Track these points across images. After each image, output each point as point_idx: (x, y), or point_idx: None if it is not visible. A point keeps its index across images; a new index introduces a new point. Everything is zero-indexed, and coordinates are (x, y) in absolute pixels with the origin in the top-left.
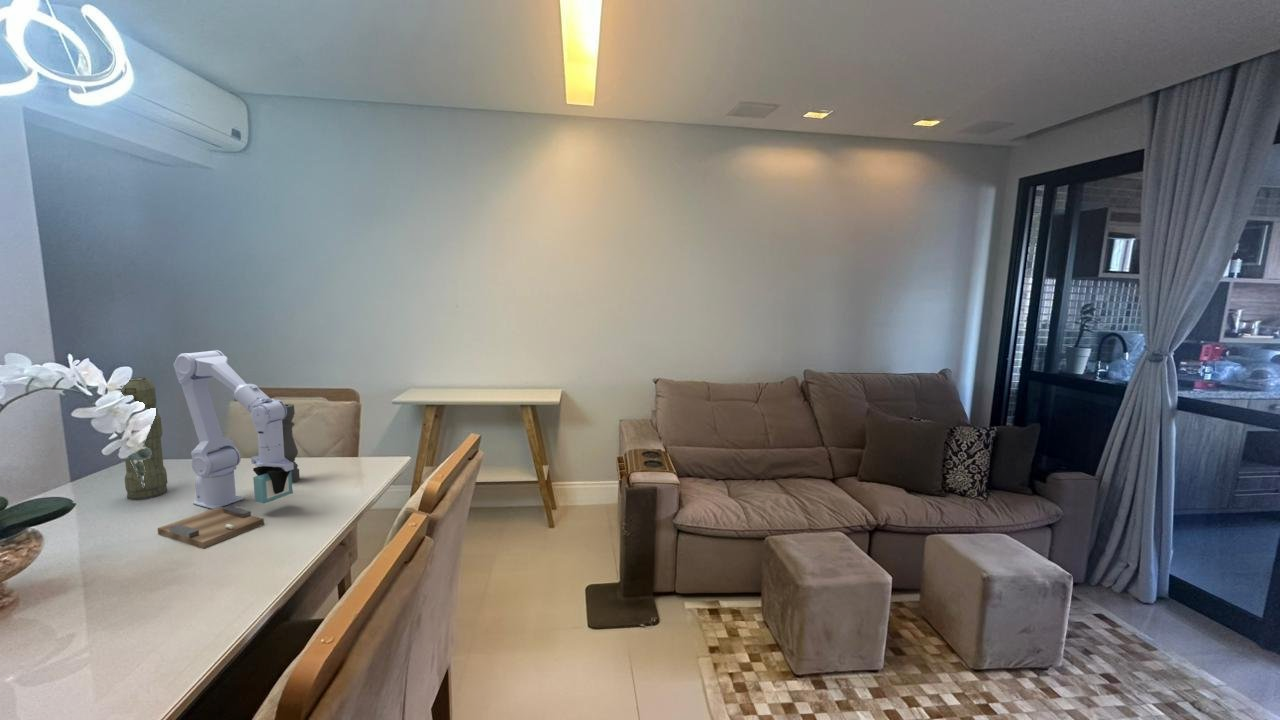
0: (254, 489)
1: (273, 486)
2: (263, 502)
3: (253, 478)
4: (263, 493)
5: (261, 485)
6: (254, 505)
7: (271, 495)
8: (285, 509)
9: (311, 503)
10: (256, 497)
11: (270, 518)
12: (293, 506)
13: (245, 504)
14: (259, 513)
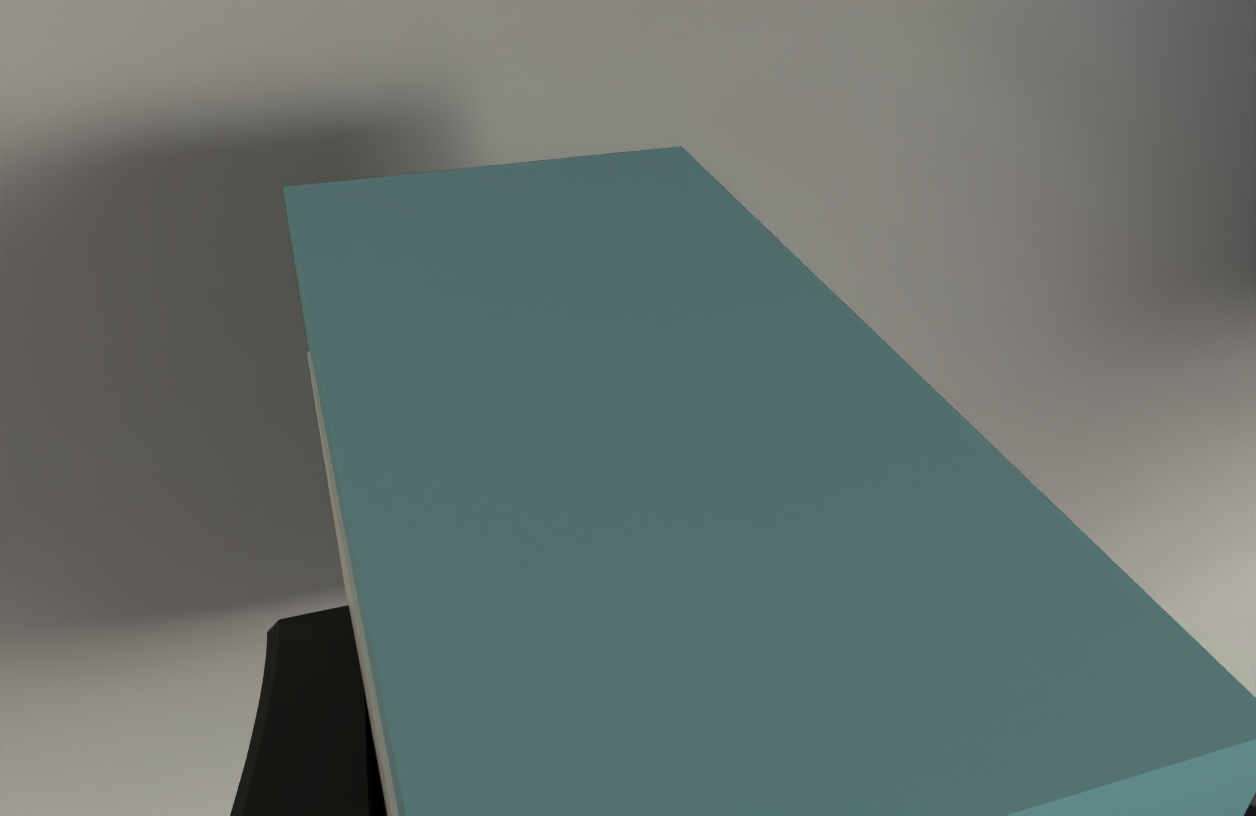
0: (850, 328)
1: (315, 802)
2: (291, 203)
3: (1211, 666)
4: (325, 380)
5: (431, 590)
6: (976, 250)
7: (332, 506)
8: (288, 465)
9: (167, 790)
10: (653, 209)
11: (10, 73)
12: (307, 590)
13: (1145, 192)
14: (553, 104)
